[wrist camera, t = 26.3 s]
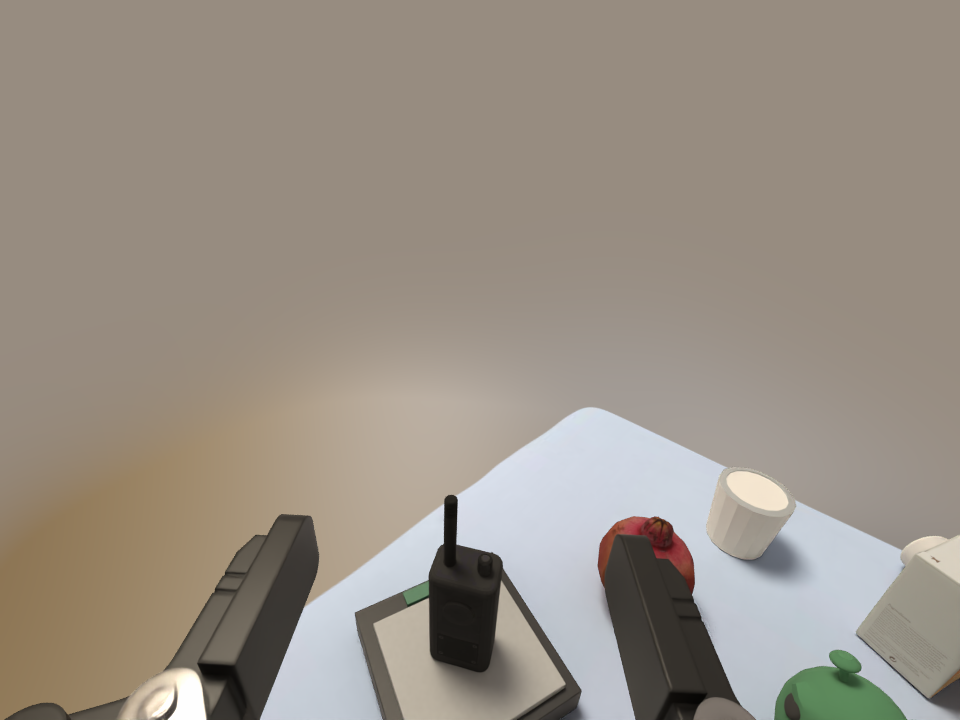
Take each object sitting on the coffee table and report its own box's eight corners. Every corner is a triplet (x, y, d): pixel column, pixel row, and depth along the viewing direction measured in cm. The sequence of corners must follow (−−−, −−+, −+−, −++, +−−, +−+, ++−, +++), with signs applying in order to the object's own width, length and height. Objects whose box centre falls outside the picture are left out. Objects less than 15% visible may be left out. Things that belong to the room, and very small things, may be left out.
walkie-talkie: (496, 633, 34) (512, 492, 27) (486, 680, 31) (501, 535, 24) (437, 617, 35) (437, 476, 28) (422, 661, 32) (419, 516, 25)
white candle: (687, 528, 48) (705, 480, 45) (721, 503, 51) (741, 457, 48) (749, 577, 43) (775, 527, 40) (782, 545, 47) (809, 497, 43)
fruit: (628, 545, 46) (651, 473, 41) (698, 610, 40) (734, 534, 35) (572, 582, 42) (589, 506, 37) (640, 660, 36) (671, 582, 31)
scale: (490, 568, 42) (492, 547, 41) (577, 707, 33) (583, 686, 31) (357, 629, 37) (353, 607, 35) (412, 821, 27) (410, 802, 25)
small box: (927, 701, 34) (1011, 621, 29) (851, 632, 39) (913, 552, 34) (983, 665, 37) (1070, 585, 32) (907, 604, 41) (972, 526, 36)
